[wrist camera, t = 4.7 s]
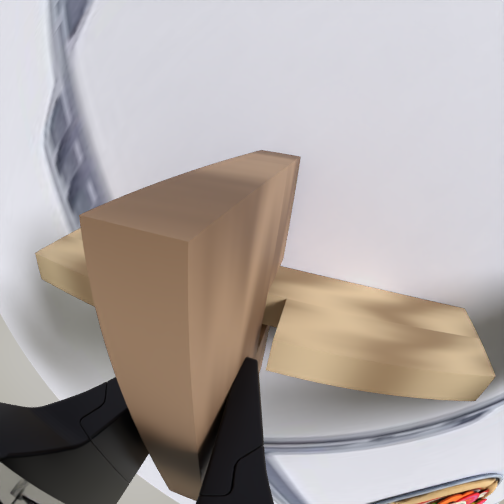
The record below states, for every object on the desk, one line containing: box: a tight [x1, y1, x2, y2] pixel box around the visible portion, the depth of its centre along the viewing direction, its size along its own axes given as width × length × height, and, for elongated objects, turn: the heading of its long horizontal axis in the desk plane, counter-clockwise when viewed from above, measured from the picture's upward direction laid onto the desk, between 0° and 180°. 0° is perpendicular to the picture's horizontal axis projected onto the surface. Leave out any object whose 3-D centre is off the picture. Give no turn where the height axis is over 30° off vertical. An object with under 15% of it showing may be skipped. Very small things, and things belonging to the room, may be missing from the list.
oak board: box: [35, 228, 496, 401], centre depth 12 cm, size 22×2×5 cm, turn 83°
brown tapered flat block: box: [79, 150, 300, 501], centre depth 9 cm, size 12×2×9 cm, turn 173°
